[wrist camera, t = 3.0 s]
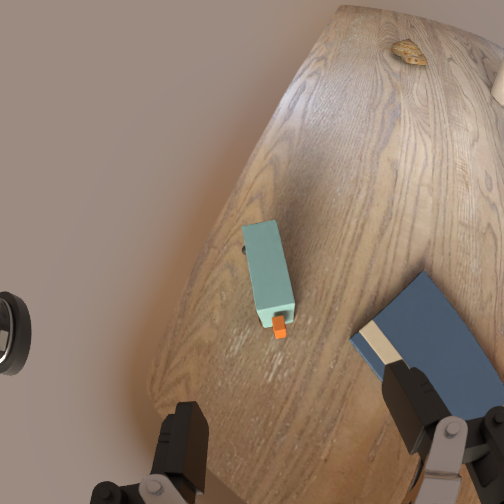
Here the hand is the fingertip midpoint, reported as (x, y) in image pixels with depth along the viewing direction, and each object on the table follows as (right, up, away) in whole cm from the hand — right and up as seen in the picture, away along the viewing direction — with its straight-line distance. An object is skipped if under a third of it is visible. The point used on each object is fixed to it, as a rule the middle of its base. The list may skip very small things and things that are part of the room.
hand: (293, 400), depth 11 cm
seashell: (+30, +45, +31) cm, 63 cm away
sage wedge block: (0, +2, +15) cm, 15 cm away
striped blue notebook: (+16, -5, +9) cm, 19 cm away
